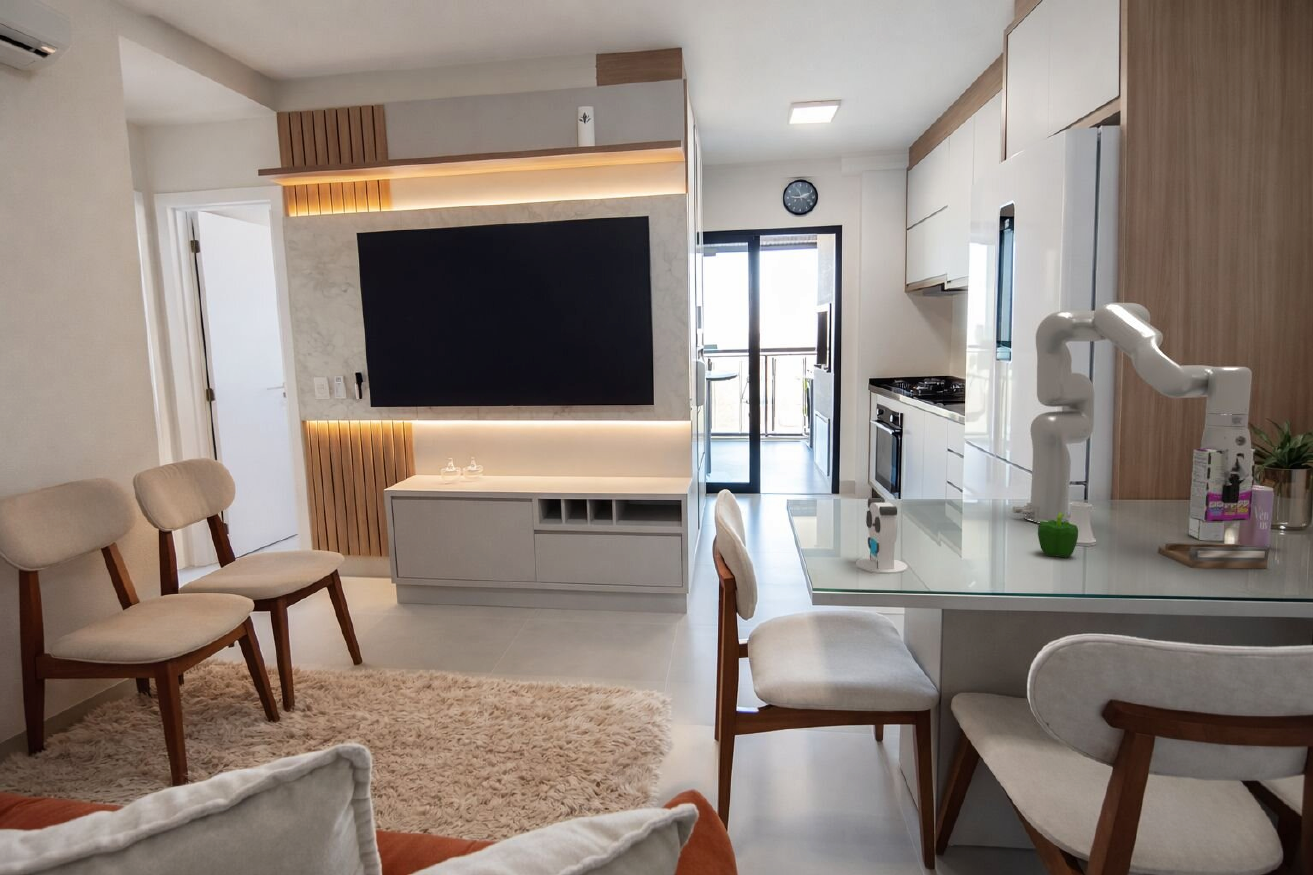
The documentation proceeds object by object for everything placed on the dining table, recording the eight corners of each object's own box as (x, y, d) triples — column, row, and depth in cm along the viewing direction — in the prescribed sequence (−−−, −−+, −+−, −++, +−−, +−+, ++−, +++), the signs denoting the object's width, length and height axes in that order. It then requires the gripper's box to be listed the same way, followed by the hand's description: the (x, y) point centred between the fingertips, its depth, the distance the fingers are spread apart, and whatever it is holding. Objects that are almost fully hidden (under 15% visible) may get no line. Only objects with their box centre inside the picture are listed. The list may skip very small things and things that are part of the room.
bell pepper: (1062, 562, 164) (1065, 520, 162) (1030, 553, 171) (1032, 513, 170) (1084, 556, 167) (1087, 515, 166) (1051, 548, 175) (1054, 509, 173)
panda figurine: (850, 557, 169) (851, 496, 167) (897, 557, 168) (899, 496, 167) (863, 573, 157) (864, 508, 155) (914, 573, 157) (916, 507, 155)
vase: (1093, 539, 182) (1095, 502, 181) (1097, 547, 175) (1100, 508, 174) (1060, 537, 185) (1062, 500, 184) (1063, 544, 178) (1065, 505, 177)
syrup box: (1224, 541, 179) (1229, 485, 177) (1198, 540, 180) (1202, 485, 178) (1211, 535, 185) (1216, 481, 183) (1186, 534, 186) (1190, 480, 184)
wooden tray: (1192, 567, 158) (1194, 548, 157) (1158, 552, 170) (1159, 534, 170) (1268, 568, 157) (1269, 549, 156) (1227, 553, 169) (1229, 534, 168)
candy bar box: (1231, 515, 164) (1237, 446, 162) (1251, 520, 159) (1257, 449, 157) (1186, 517, 163) (1192, 447, 161) (1205, 522, 158) (1211, 450, 156)
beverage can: (1261, 544, 176) (1267, 485, 174) (1273, 550, 170) (1279, 490, 168) (1232, 542, 178) (1238, 484, 176) (1243, 548, 172) (1249, 489, 170)
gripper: (1274, 425, 150) (1266, 508, 152) (1216, 417, 167) (1210, 492, 169) (1236, 425, 150) (1230, 507, 152) (1183, 418, 167) (1177, 492, 169)
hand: (1219, 499), depth 160 cm, fingers closed on candy bar box, 5 cm apart
